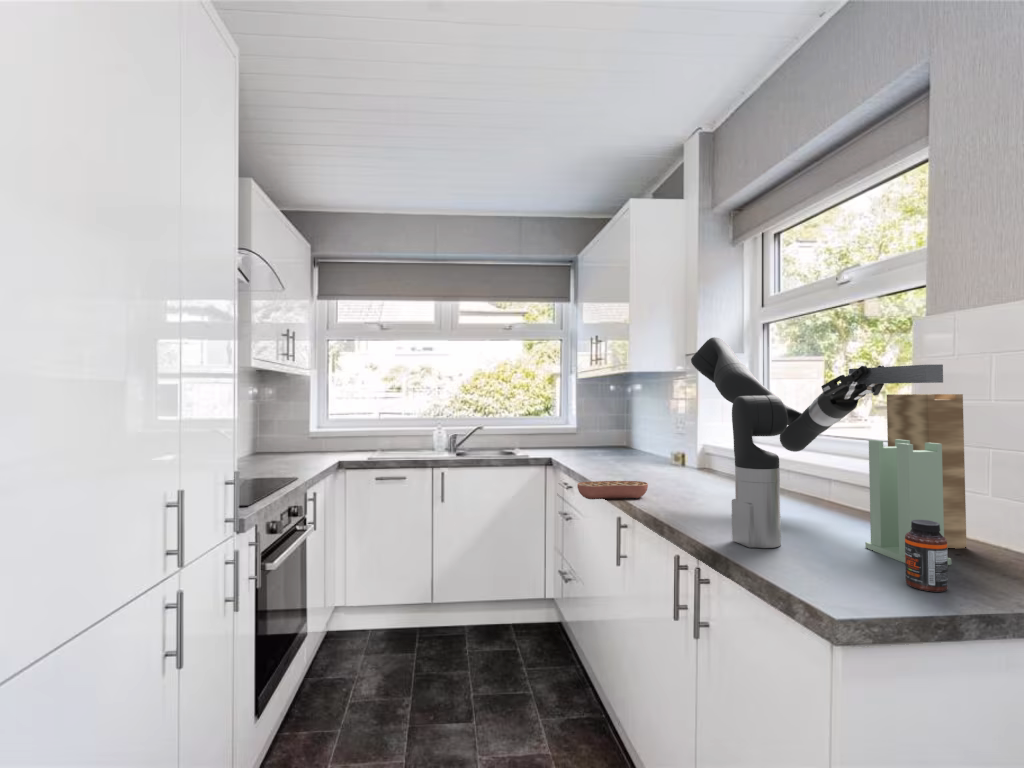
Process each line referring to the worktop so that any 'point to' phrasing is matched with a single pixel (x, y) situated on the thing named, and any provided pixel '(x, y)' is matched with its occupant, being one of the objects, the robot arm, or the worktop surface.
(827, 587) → the worktop surface
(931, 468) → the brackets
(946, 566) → the supplement bottle
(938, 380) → the rail
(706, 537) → the worktop surface
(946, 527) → the wooden block
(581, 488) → the bread loaf
